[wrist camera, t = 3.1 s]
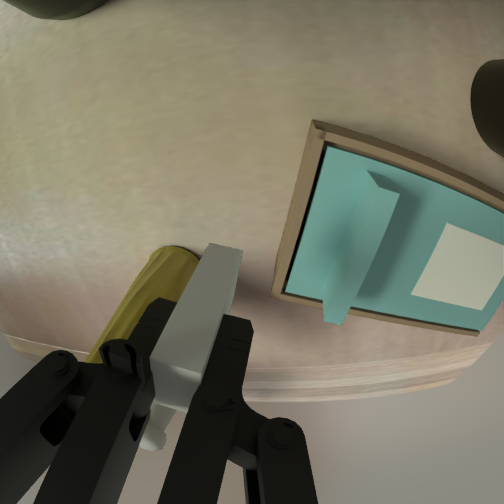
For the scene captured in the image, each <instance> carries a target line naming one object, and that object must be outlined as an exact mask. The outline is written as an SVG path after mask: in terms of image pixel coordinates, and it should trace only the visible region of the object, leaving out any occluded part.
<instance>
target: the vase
mask: <svg viewBox="0 0 504 504" xmlns="http://www.w3.org/2000/svg"><path fill="white" fill-rule="evenodd" d="M199 261H200V260H199V259H198V258H197V257H196V256H194V255H193V254H192V253H191V252H189V251H187V250H185V249H183V248H180V247H175V246H166V247H162V248H160V249H158V250H156V251H155V252H154V253H153V254H152V255H151V256H150V258H149V261H148V263H147V264H146V265H145V267H144V268H143V269H142V271H141V272H140V273H139V275H138V276H137V278H136V279H135V281H134V282H133V284H132V286H131V287H130V289H129V290H128V292H127V294H126V295H125V297H124V299H123V300H122V302H121V303H120V305H119V307H118V308H117V310H116V312H115V313H114V315H113V317H112V318H111V320H110V321H109V323H108V325H107V326H106V328H105V329H104V331H103V333H102V334H101V336H100V338H99V339H98V341H97V343H96V344H95V346H94V348H93V349H92V351H91V352H90V354H89V355H88V357H87V359H86V360H85V362H87V363H103V362H102V359H101V355H100V352H99V349H98V348H99V347H100V346H101V345H102V344H103V343H105V342H107V341H109V340H111V339H119V338H120V339H126V340H127V339H128V338H129V336H130V334H131V333H132V331H133V329H134V328H135V326H136V324H138V321H139V319H140V318H141V316H142V315H143V313H144V311H145V309H146V308H147V306H148V305H149V304H150V303H151V302H153V301H154V300H156V299H157V298H158V297H160V298H164V299H167V300H171V301H174V302H178V301H179V299H180V297H181V295H182V293H183V291H184V289H185V287H186V286H187V284H188V282H189V280H190V278H191V276H192V274H193V272H194V271H195V269H196V267H197V265H198V263H199Z"/></svg>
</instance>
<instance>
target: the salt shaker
mask: <svg viewBox="0 0 504 504" xmlns="http://www.w3.org/2000/svg"><path fill="white" fill-rule="evenodd" d="M150 409H151V415H150V419H149V421H148V424H147V426H146V429H145V431H144V434H143V436H142V439H141V442H140V444H139V447H141V448H143V449H146V450H150V451H159V450H161V449H163V447H164V445H165V443H166V434H165V433H164V430H165V428H166V427H167V425H168V424H169V422H170V420H171V419H172V417H173V415H174V414H175V412H176V409H173V408H169V407H166V406H163V405H160V404H157V403H156V402H155V397H154V400H153V402H152V404H151V407H150Z"/></svg>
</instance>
